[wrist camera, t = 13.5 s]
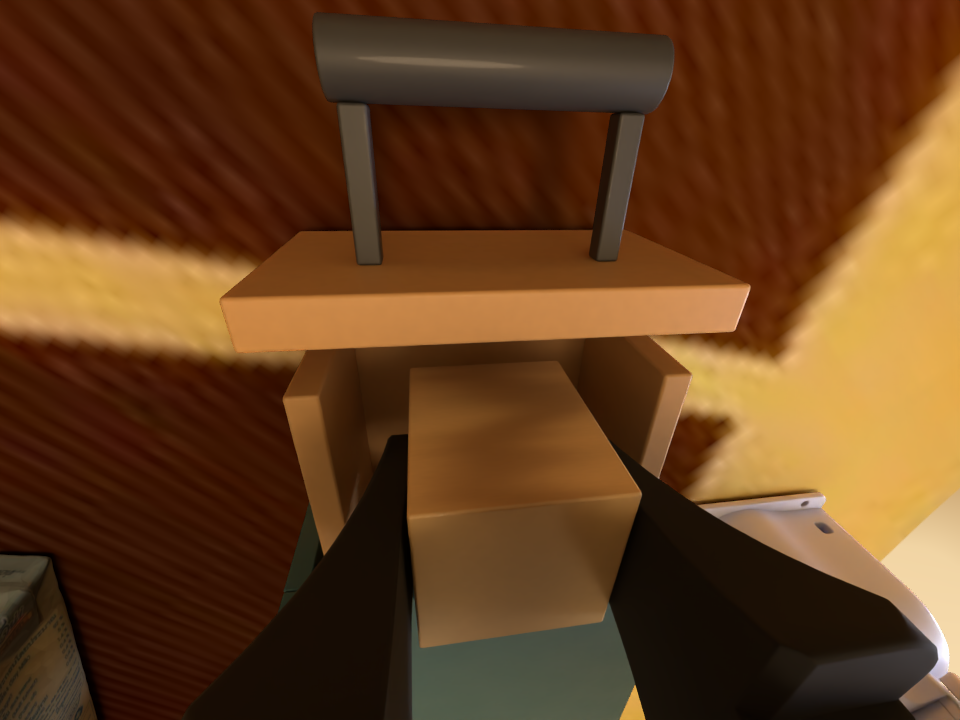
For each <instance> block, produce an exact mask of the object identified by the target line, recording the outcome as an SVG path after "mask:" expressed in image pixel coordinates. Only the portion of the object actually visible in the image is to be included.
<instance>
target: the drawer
mask: <svg viewBox="0 0 960 720" xmlns="http://www.w3.org/2000/svg"><path fill="white" fill-rule="evenodd" d="M312 30H313V44H314V52H315V59H316V65H317V70H318V75H319V79H320V83H321V86H322V90H323V93H324V95H325V97H326V99H327V101H329V102H337V113H338V121H339V129H340V137H341V145H342V152H343V160H344V168H345V176H346V184H347V191H348V199H349V207H350V215H351V223H352V230H353V231H301V232H299V233H298V234H297V235H295V236H294V237H293V238H292V239H291V240H289V241H288V242H287V243H286V244H285V245H283V246H282V247H281V248H280V249H279V250H277V251H276V252H275V253H274V254H273V255H272V256H270V257H269V258H268V259H267V260H266V261H264V262H263V263H262V264H261V265H260V266H258V267H257V268H256V269H255V270H254V271H252V272H251V273H250V274H249V275H248V276H246V277H245V278H244V279H243V280H242V281H240V282H239V283H238V284H237V285H236V286H234V287H233V288H232V289H231V290H230V291H228V292H227V293H226V294H225V295H224V296H222V297H221V298H220V305H221V308H222V312H223V315H224V318H225V321H226V324H227V328H228V331H229V334H230V337H231V340H232V344H233V347H234V350H235V351H236V352H237V353H252V352H275V351H298V350H307V351H306V353H305V355H304V357H303V359H302V361H301V363H300V365H299V367H298V369H297V371H296V373H295V375H294V377H293V379H292V381H291V383H290V385H289V386H288V388H287V390H286V392H285V394H284V396H283V403H284V407H285V410H286V414H287V418H288V422H289V426H290V429H291V433H292V437H293V441H294V444H295V448H296V452H297V456H298V460H299V463H300V467H301V471H302V475H303V479H304V482H305V486H306V490H307V494H308V498H309V501H310V505H311V509H312V513H313V517H314V520H315V524H316V528H317V532H318V536H319V539H320V543H321V547H322V551H323V554H324V555H325V554H326V552H327V551H328V550H329V548H330V547H331V545H332V544H333V542H334V541H335V540H336V538H337V537H338V535H339V534H340V532H341V530H342V529H343V527H344V526H345V524H346V523H347V521H348V519H349V518H350V516H351V514H352V513H353V511H354V509H355V508H356V506H357V504H358V503H359V501H360V499H361V497H362V496H363V494H364V492H365V490H366V488H367V486H368V484H369V482H370V480H371V478H372V476H373V474H374V472H375V470H376V468H377V466H378V464H379V461H380V459H381V457H382V454H383V452H384V449H385V446H386V443H387V440H388V438H389V437H390V436H391V435H400V434H408V425H409V375H410V369H411V368H421V367H441V366H460V365H480V364H499V363H519V362H538V361H558V362H559V364H560V365H561V367H562V368H563V370H564V372H565V373H566V375H567V376H568V378H569V379H570V381H571V382H572V384H573V386H574V387H575V389H576V390H577V392H578V393H579V395H580V397H581V398H582V400H583V401H584V403H585V404H586V406H587V408H588V409H589V411H590V412H591V414H592V415H593V417H594V419H595V420H596V422H597V423H598V425H599V426H600V428H601V430H602V431H603V433H604V434H605V436H606V437H607V438H608V439H609V440H610V441H612V442H613V443H614V444H615V445H616V446H618V447H619V448H620V449H621V450H622V451H624V452H625V453H626V454H627V455H629V456H630V457H631V458H632V459H634V460H635V461H636V462H637V463H639V464H640V465H641V466H642V467H644V468H645V469H646V470H648V471H649V472H650V473H652V474H653V475H654V476H656V477H657V478H658V479H659V476H660V473H661V470H662V467H663V464H664V461H665V458H666V455H667V452H668V448H669V445H670V442H671V439H672V436H673V433H674V430H675V427H676V424H677V421H678V418H679V415H680V412H681V409H682V406H683V403H684V400H685V397H686V394H687V391H688V388H689V385H690V382H691V379H692V373H691V372H689V371H688V370H687V369H686V368H685V367H684V366H682V365H681V364H680V363H679V362H678V361H677V360H675V359H674V358H673V357H672V356H671V355H670V354H668V353H667V352H666V351H665V350H664V349H663V348H661V347H660V346H659V345H658V344H657V343H656V342H654V341H653V340H652V339H651V338H650V337H649V336H647V335H667V334H691V333H714V332H732V331H734V330H735V329H736V326H737V323H738V321H739V318H740V315H741V313H742V310H743V307H744V304H745V302H746V299H747V296H748V294H749V291H750V285H749V284H747V283H745V282H743V281H740V280H738V279H736V278H734V277H731V276H729V275H727V274H725V273H722V272H720V271H718V270H716V269H713V268H711V267H709V266H706V265H704V264H702V263H700V262H697V261H695V260H693V259H691V258H688V257H686V256H684V255H682V254H679V253H677V252H675V251H673V250H670V249H668V248H666V247H664V246H661V245H659V244H657V243H655V242H652V241H650V240H648V239H646V238H643V237H641V236H639V235H637V234H634V233H632V232H630V231H627V230H623V227H624V222H625V217H626V211H627V206H628V201H629V196H630V190H631V185H632V180H633V175H634V170H635V164H636V159H637V154H638V149H639V143H640V138H641V133H642V128H643V123H644V117H645V116H644V114H648V113H650V112H652V111H653V110H655V109H656V108H657V106H658V105H659V104H660V102H661V101H662V99H663V97H664V95H665V93H666V91H667V88H668V86H669V83H670V80H671V76H672V72H673V66H674V46H673V43H672V41H671V39H670V38H669V37H668V36H666V35H654V34H638V33H623V32H608V31H593V30H578V29H563V28H548V27H533V26H517V25H502V24H487V23H472V22H457V21H442V20H427V19H412V18H397V17H381V16H366V15H351V14H336V13H321V12H316V13H315V14H314V16H313V23H312ZM367 104H391V105H418V106H445V107H472V108H499V109H526V110H553V111H579V112H606V113H614V114H612V115H611V117H610V122H609V128H608V134H607V141H606V147H605V154H604V160H603V167H602V173H601V179H600V186H599V192H598V199H597V205H596V211H595V218H594V224H593V230H465V231H381V225H380V214H379V203H378V193H377V182H376V172H375V161H374V151H373V140H372V129H371V119H370V108H369V106H368V105H367Z"/></svg>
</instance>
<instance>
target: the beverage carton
mask: <svg viewBox="0 0 960 720" xmlns="http://www.w3.org/2000/svg"><path fill="white" fill-rule="evenodd" d="M0 720H97V716H96V713H95V709H94V705H93V702H92V699H91V695H90V692H89V688H88V684H87V681H86V677H85V673H84V670H83V667H82V663H81V660H80V656H79V653H78V649H77V646H76V642H75V638H74V634H73V630H72V626H71V623H70V620H69V617H68V613H67V609H66V606H65V603H64V599H63V596H62V594H61V592H60V590H59V588H58V582H57V579H56V576H55V573H54V570H53V565H52V560H51V558H50V557H46V556H20V555H0Z"/></svg>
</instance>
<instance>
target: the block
mask: <svg viewBox="0 0 960 720" xmlns="http://www.w3.org/2000/svg"><path fill="white" fill-rule="evenodd" d="M641 497H642V493H641V491H640V489H639V488H638V486H637V484H636V483H635V481H634V480H633V478H632V477H631V475H630V473H629V472H628V470H627V469H626V467H625V466H624V464H623V462H622V461H621V459H620V458H619V456H618V455H617V453H616V451H615V450H614V448H613V447H612V445H611V444H610V442H609V441H608V439H607V437H606V436H605V434H604V433H603V431H602V430H601V428H600V426H599V425H598V423H597V422H596V420H595V419H594V417H593V415H592V414H591V412H590V411H589V409H588V408H587V406H586V404H585V403H584V401H583V400H582V398H581V397H580V395H579V393H578V392H577V390H576V389H575V387H574V386H573V384H572V382H571V381H570V379H569V378H568V376H567V375H566V373H565V372H564V370H563V368H562V367H561V365H560V364H559V362H558V361H538V362H519V363H499V364H480V365H460V366H441V367H421V368H411V369H410V375H409V425H408V475H407V526H408V536H409V546H410V557H411V567H412V577H413V588H414V598H415V608H416V619H417V629H418V639H419V646H420V648H426V647H433V646H440V645H447V644H454V643H461V642H467V641H474V640H481V639H488V638H495V637H502V636H509V635H515V634H522V633H529V632H536V631H543V630H550V629H557V628H563V627H570V626H577V625H584V624H591V623H598V622H602V621H603V618H604V615H605V612H606V609H607V606H608V602H609V599H610V596H611V593H612V590H613V586H614V583H615V580H616V577H617V574H618V570H619V567H620V564H621V561H622V558H623V554H624V551H625V548H626V545H627V542H628V538H629V535H630V532H631V529H632V526H633V522H634V519H635V516H636V513H637V510H638V506H639V503H640V500H641Z"/></svg>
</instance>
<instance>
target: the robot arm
mask: <svg viewBox="0 0 960 720" xmlns="http://www.w3.org/2000/svg"><path fill="white" fill-rule="evenodd" d="M607 439H608V438H607ZM608 441H609V442H610V444H611V445H612V447H613V448H614V450H615V451H616V453H617V455H618V456H619V458H620V459H621V461H622V462H623V464H624V466H625V467H626V469H627V470H628V472H629V473H630V475H631V477H632V478H633V480H634V481H635V483H636V484H637V486H638V488H639V489H640V491H641V493H642V497H641V500H640V503H639V506H638V510H637V513H636V516H635V519H634V522H633V526H632V529H631V532H630V535H629V538H628V542H627V545H626V548H625V551H624V554H623V558H622V561H621V564H620V567H619V570H618V574H617V577H616V580H615V583H614V586H613V590H612V593H611V596H610V599H609V604H610V607H611V610H612V613H613V616H614V619H615V622H616V625H617V628H618V631H619V633H620V637H621V640H622V643H623V646H624V649H625V652H626V656H627V659H628V662H629V665H630V668H631V671H632V675H633V678H634V681H635V685H636V688H637V692H638V695H639V698H640V702H641V705H642V709H643V712H644V715H645V719H646V720H960V677H959V676H957V675H956V674H954V673H951V672H948V667H949V650H948V646H947V643H946V640H945V638H944V635H943V633H942V631H941V629H940V628H939V626H938V624H937V622H936V620H935V619H934V617H933V616H932V615H931V613H930V612H929V610H928V609H927V607H926V606H925V605H924V604H923V603H922V602H921V601H920V599H919V598H918V597H917V596H916V595H915V594H914V593H913V592H912V591H911V590H910V589H909V588H908V587H907V586H906V585H905V584H903V583H902V582H901V581H900V580H899V579H898V578H897V577H896V576H895V575H894V574H893V573H891V572H890V571H889V570H888V569H887V568H886V567H885V566H884V565H882V564H881V562H879V561H878V560H877V559H876V558H875V557H874V556H873V555H872V554H871V553H870V552H869V551H867V550H866V549H865V548H864V547H863V546H862V545H861V544H860V543H859V542H858V541H856V540H855V539H854V538H853V537H852V536H851V535H850V534H849V533H848V532H847V531H846V530H844V529H843V528H842V527H841V526H840V525H839V524H838V523H837V522H836V521H835V520H834V519H832V518H831V517H830V516H829V515H828V514H827V513H826V512H825V511H824V510H823V509H822V508H821V507H822V506H823V504H824V503H825V501H826V497H825V496H824V495H823V494H821V493H820V492H814V493H805V494H795V495H786V496H777V497H767V498H758V499H749V500H739V501H730V502H721V503H711V504H702V505H696V504H694V503H693V502H691V501H690V500H688V499H687V498H685V497H684V496H682V495H681V494H679V493H678V492H676V491H675V490H674V489H672V488H671V487H669V486H668V485H667V484H665V483H664V482H662V481H661V480H660V479H658V478H657V477H656V476H654V475H653V474H652V473H650V472H649V471H648V470H646V469H645V468H644V467H642V466H641V465H640V464H639V463H637V462H636V461H635V460H634V459H632V458H631V457H630V456H629V455H627V454H626V453H625V452H624V451H622V450H621V449H620V448H619V447H618V446H616V445H615V444H614V443H613V442H612V441H610V440H609V439H608ZM407 475H408V434H400V435H391V436H390V437H389V438H388V440H387V443H386V446H385V449H384V452H383V454H382V457H381V459H380V461H379V464H378V466H377V468H376V470H375V472H374V474H373V476H372V478H371V480H370V482H369V484H368V486H367V488H366V490H365V492H364V494H363V496H362V497H361V499H360V501H359V503H358V504H357V506H356V508H355V509H354V511H353V513H352V514H351V516H350V518H349V519H348V521H347V523H346V524H345V526H344V527H343V529H342V530H341V532H340V534H339V535H338V537H337V538H336V540H335V541H334V542H333V544H332V545H331V547H330V548H329V550H328V551H327V552H326V554H325V555H324V557H323V558H322V559H321V561H320V562H319V563H318V565H317V566H316V567H315V569H314V570H313V571H312V572H311V574H310V575H309V576H308V578H307V579H306V580H305V582H304V583H303V584H302V585H301V587H300V588H299V589H298V590H297V592H296V593H295V594H294V595H293V596H292V598H291V599H290V600H289V601H288V602H287V604H286V605H285V606H284V607H283V608H282V609H281V610H280V611H279V613H278V614H277V615H276V616H275V617H274V618H273V619H272V620H271V622H270V623H269V624H268V625H267V626H266V627H265V628H264V629H263V631H262V632H261V633H260V634H259V635H258V636H257V637H256V638H255V640H254V641H253V642H252V643H251V644H250V645H249V646H248V647H247V648H246V649H245V650H244V651H243V652H242V653H241V654H240V655H239V656H238V657H237V658H236V659H235V660H234V662H233V663H232V664H231V665H230V666H229V667H228V668H227V669H226V670H225V671H224V672H223V673H222V674H221V675H220V676H219V677H218V678H217V679H216V680H215V681H214V682H213V683H212V684H211V685H210V686H209V687H208V688H207V689H206V690H205V691H204V692H203V693H202V694H201V695H200V696H199V697H198V698H197V699H196V700H195V701H194V702H193V703H192V704H191V705H190V706H189V707H188V708H187V710H186V712H185V714H184V716H183V718H182V719H181V720H412V602H413V589H414V588H413V577H412V567H411V557H410V546H409V536H408V526H407ZM947 672H948V673H947ZM941 681H942V683H943V684H944V685H945V686H946V687H947V689H946V687H945V686H944V685H943V684H942V683H941ZM949 691H950V692H949ZM953 695H954V696H955V697H956V698H957V699H958V700H957V699H956V698H955V697H954V696H953Z"/></svg>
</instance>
